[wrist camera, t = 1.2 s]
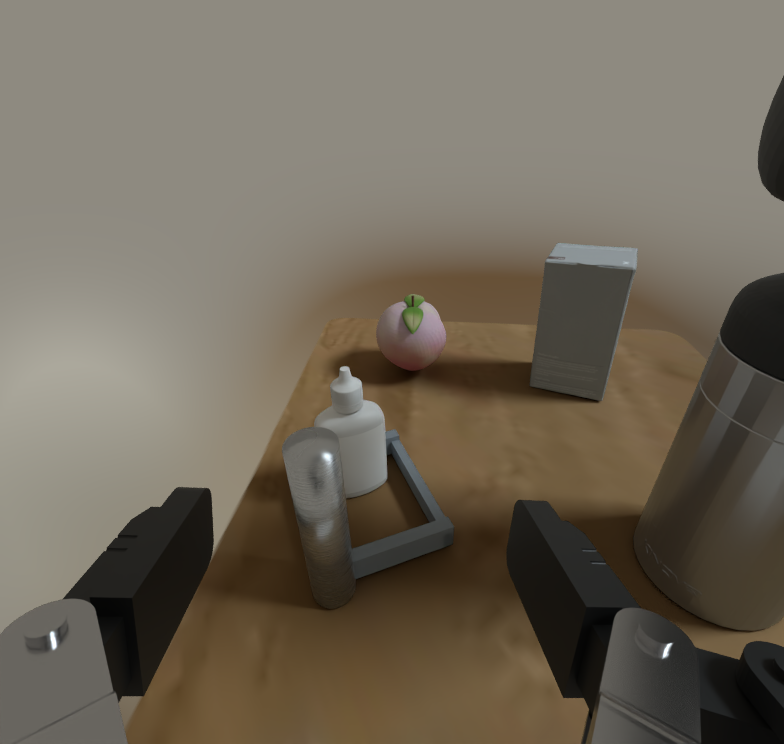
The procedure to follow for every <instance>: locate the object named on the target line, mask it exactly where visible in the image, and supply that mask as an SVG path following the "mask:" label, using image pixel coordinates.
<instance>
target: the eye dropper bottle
mask: <svg viewBox="0 0 784 744" xmlns="http://www.w3.org/2000/svg"><path fill="white" fill-rule="evenodd" d="M330 389H331V398H332V406H330V407H329V408H327V409H326V410H324V411H323V412H321V413H320V414H319V415H318V416H317V417H316V419H315V423H314V426H315V427H323V428H327V429H329V430H331V431H333V432H334V433H335V434H336V435H337V437H338V439H339V445H340V454H341V462H342V471H343V479H344V488H345V496H346V498H352V497H357V496H361V495H364V494H367V493H369V492H371V491H373V490H375V489H377V488H378V487H380V486H381V485H382V484H384V483H385V481H386V480H387V457H386V436H385V420H384V415H383V412H382V410H381V409H380V407H379V406H378V405H377V404H376V403H374V402H371V401H367V400H363V392H362V382H361V381H360V380H359V379H358V378H356V377H353V376H351V372H350V369H349V367H347V366H343V367H341V368H340V372H339V378H337V379H335V380H334V381H333V382H332V383H331V385H330Z"/></svg>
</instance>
